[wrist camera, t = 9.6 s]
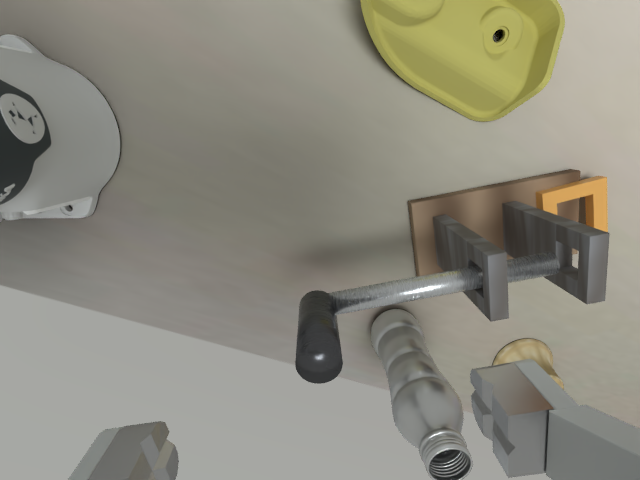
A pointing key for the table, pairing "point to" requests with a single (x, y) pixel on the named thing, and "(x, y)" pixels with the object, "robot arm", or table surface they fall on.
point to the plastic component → (469, 49)
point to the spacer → (589, 188)
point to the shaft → (321, 308)
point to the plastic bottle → (421, 396)
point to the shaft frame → (508, 238)
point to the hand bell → (529, 356)
